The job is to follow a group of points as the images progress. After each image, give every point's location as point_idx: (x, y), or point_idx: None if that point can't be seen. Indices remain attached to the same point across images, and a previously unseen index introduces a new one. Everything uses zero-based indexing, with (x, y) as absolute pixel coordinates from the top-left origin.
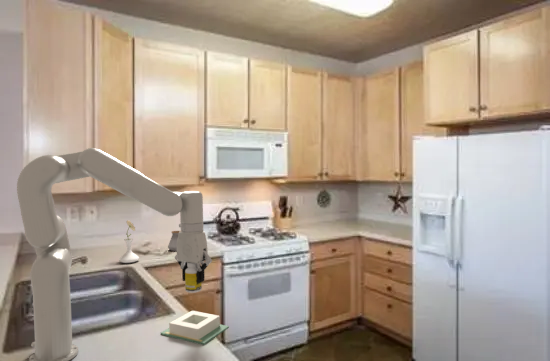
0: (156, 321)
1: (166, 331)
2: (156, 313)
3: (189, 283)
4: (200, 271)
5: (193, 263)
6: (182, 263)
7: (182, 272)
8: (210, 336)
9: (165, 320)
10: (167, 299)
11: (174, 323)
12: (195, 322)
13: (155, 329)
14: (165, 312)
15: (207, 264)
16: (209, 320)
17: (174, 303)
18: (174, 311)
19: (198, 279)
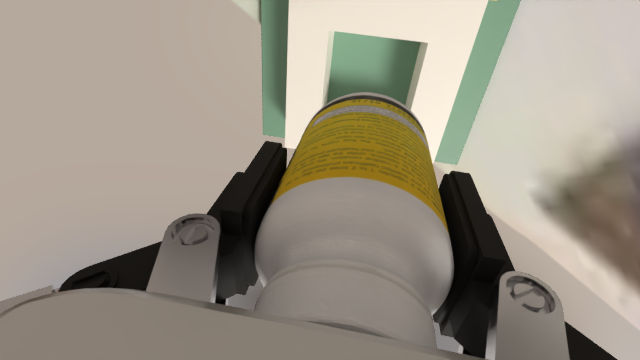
0: (603, 112)
1: (499, 8)
2: (632, 184)
3: (356, 120)
4: (212, 227)
5: None
6: (539, 354)
7: (491, 229)
8: (273, 29)
9: (557, 131)
10: (621, 298)
11: (452, 2)
12: None
13: (576, 29)
14: (587, 199)
15: (27, 293)
16: (297, 92)
17: (575, 272)
18: (547, 213)
19: (256, 158)
